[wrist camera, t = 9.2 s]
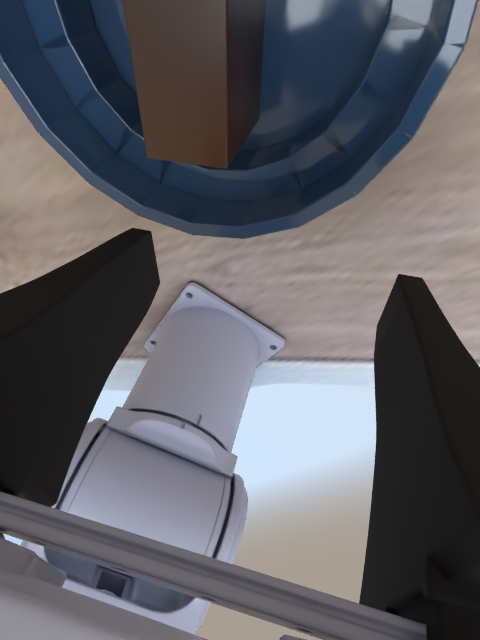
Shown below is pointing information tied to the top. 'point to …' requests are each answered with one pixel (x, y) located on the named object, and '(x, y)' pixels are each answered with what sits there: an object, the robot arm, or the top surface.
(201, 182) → the bowl
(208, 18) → the bar
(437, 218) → the top surface
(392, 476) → the robot arm
